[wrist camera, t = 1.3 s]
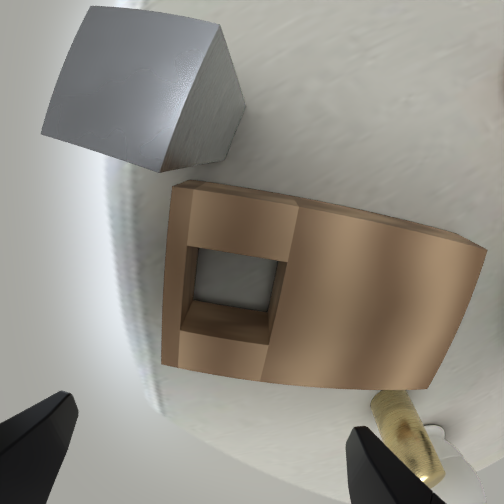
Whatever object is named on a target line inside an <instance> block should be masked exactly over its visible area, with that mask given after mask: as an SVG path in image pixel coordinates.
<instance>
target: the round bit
mask: <svg viewBox="0 0 504 504" xmlns="http://www.w3.org/2000/svg"><path fill="white" fill-rule="evenodd" d="M370 406H371V410H372V412H373V415H374V418H375V421H376V423H377V426H378V429H379V432H380V435H381V438H382V440H383V443H384V444H385V445H386V446H387V447H388V448H389V449H390V450H391V451H392V452H393V453H394V454H395V455H396V456H397V457H398V458H399V459H400V460H401V461H402V462H403V463H404V464H405V465H406V466H407V467H408V468H409V469H410V470H411V471H412V472H413V473H414V474H415V475H416V476H417V477H419V478H420V479H421V480H422V481H423V482H424V483H425V484H426V485H427V486H428V487H429V488H430V489H431V488H433V487H434V486H436V485H437V484H438V483H439V482H441V481H442V480H443V478H444V477H445V475H446V473H445V471H444V468H443V466H442V464H441V462H440V460H439V457H438V455H437V453H436V451H435V449H434V447H433V444H432V442H431V440H430V438H429V436H428V434H427V432H426V430H425V428H424V426H423V424H422V422H421V420H420V418H419V415H418V413H417V411H416V410H415V408H414V406H413V404H412V402H411V400H410V398H409V396H408V394H407V392H406V390H382V391H380V392H379V393H378V394H377V395H376V396H375V397H374V398H373V400H372V401H371V405H370Z"/></svg>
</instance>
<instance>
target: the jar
mask: <svg viewBox="0 0 504 504" xmlns="http://www.w3.org/2000/svg"><path fill="white" fill-rule="evenodd" d="M424 428H425V430H426V432H427V434H428V436H429V438H430V440H431V442H432V444H433V447H434V449H435V451H436V453H437V455H438V457H439V460H440V462H441V464H442V466H443V468H444V471H445V473H446V475H445V477H444V478H443V480H442V481H441V482H439V483H438V484H437V485H436V486H434V487H433V488H431V490H432V491H433V493H435V494H437V495H438V496H439V497H440V498H441V499H442V500H443V501H444V502H445V503H447V504H487V501H486V496H485V492H484V489H483V486H482V483H481V481H480V479H479V477H478V475H477V473H476V472H475V470H474V469H473V468H472V466H471V465H470V464H469V463H468V462H467V461H466V460H465V459H464V457H463V455H462V454H461V453H460V451H459V450H458V449H457V448H456V447H455V446H454V445H452V444H451V443H450V442H448V441H446V440H444V437H445V433H444V430H443V429H442V428H441V427H440V426H437V425H427V426H424Z"/></svg>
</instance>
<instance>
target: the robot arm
mask: <svg viewBox="0 0 504 504" xmlns="http://www.w3.org/2000/svg"><path fill="white" fill-rule="evenodd" d="M77 418H78V408H77V405H76V403H75V400H74V397H73V395H72V394H71V393H68V392H65V391H59V392H57V393H55V394H53V395H52V396H50V397H48V398H46V399H44V400H43V401H41V402H39V403H37V404H35V405H33V406H32V407H30V408H28V409H26V410H24V411H22V412H21V413H19V414H17V415H15V416H13V417H12V418H10V419H8V420H6V421H4V422H2V423H0V504H46V502H47V500H48V497H49V494H50V492H51V489H52V486H53V484H54V482H55V479H56V477H57V474H58V472H59V469H60V467H61V465H62V462H63V460H64V457H65V455H66V452H67V450H68V447H69V444H70V440H71V437H72V434H73V431H74V427H75V424H76V421H77ZM346 460H347V475H348V488H349V494H350V499H351V504H447V503H445V502H444V501H443V500H442V499H441V498H440V497H439V496H438V495H437V494H435V493H433V491H432V490H431V489H430V488H429V487H428V486H427V485H426V484H425V483H424V482H423V481H422V480H421V479H420V478H419V477H417V476H416V475H415V474H414V473H413V472H412V471H411V470H410V469H409V468H408V467H407V466H406V465H405V464H404V463H403V462H402V461H401V460H400V459H399V458H398V457H397V456H396V455H395V454H394V453H393V452H392V451H391V450H390V449H389V448H388V447H387V446H386V445H385V444H384V443H383V442H382V441H381V440H380V439H379V438H378V437H377V436H376V435H375V434H374V433H373V432H372V431H371V430H370V429H369V428H368V427H366V426H358V427H354V428H353V429H352V431H351V433H350V436H349V438H348V440H347V442H346Z"/></svg>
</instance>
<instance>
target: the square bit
mask: <svg viewBox="0 0 504 504" xmlns="http://www.w3.org/2000/svg"><path fill="white" fill-rule="evenodd" d="M245 108H246V104H245V101H244V97H243V94H242V91H241V88H240V84H239V81H238V78H237V75H236V72H235V69H234V66H233V62H232V59H231V56H230V53H229V50H228V47H227V44H226V41H225V38H224V35H223V32H222V29H221V26H220V24H216V23H211V22H207V21H203V20H198V19H194V18H189V17H184V16H178V15H173V14H167V13H161V12H154V11H147V10H139V9H130V8H119V7H104V6H90V8H89V10H88V12H87V14H86V16H85V18H84V20H83V22H82V24H81V26H80V28H79V30H78V32H77V34H76V36H75V38H74V41H73V43H72V45H71V48H70V50H69V52H68V55H67V57H66V59H65V62H64V64H63V67H62V70H61V72H60V75H59V78H58V80H57V83H56V86H55V88H54V91H53V94H52V97H51V100H50V103H49V107H48V110H47V113H46V117H45V121H44V124H43V127H42V131H41V134H42V135H45V136H48V137H52V138H55V139H58V140H61V141H65V142H68V143H71V144H74V145H78V146H81V147H84V148H87V149H90V150H93V151H96V152H99V153H102V154H105V155H108V156H111V157H114V158H117V159H120V160H123V161H126V162H129V163H132V164H135V165H138V166H141V167H144V168H147V169H150V170H152V171H155V172H158V173H161V172H165V171H170V170H175V169H180V168H184V167H189V166H194V165H200V164H205V163H210V162H216V161H222V160H225V157H226V155H227V152H228V150H229V147H230V145H231V142H232V139H233V137H234V134H235V132H236V129H237V127H238V125H239V122H240V120H241V117H242V115H243V112H244V110H245Z"/></svg>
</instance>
